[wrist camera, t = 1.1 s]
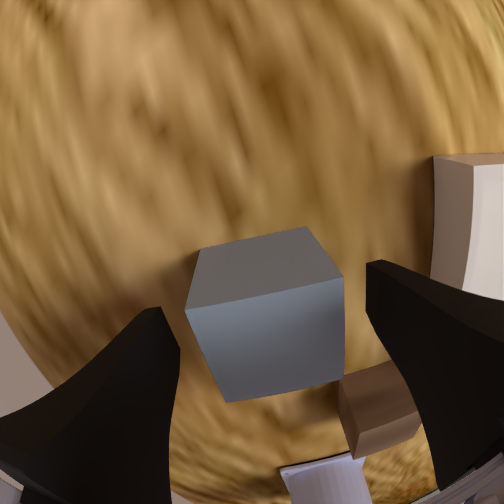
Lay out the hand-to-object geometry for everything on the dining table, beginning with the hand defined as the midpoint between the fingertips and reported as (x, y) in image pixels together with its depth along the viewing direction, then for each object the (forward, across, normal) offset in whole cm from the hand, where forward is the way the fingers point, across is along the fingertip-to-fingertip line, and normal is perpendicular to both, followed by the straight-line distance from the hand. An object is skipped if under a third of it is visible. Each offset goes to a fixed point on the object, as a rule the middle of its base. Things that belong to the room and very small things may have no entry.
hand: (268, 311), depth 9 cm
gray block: (+2, 0, 0) cm, 2 cm away
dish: (+2, -14, +2) cm, 14 cm away
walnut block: (+2, -5, +9) cm, 11 cm away
